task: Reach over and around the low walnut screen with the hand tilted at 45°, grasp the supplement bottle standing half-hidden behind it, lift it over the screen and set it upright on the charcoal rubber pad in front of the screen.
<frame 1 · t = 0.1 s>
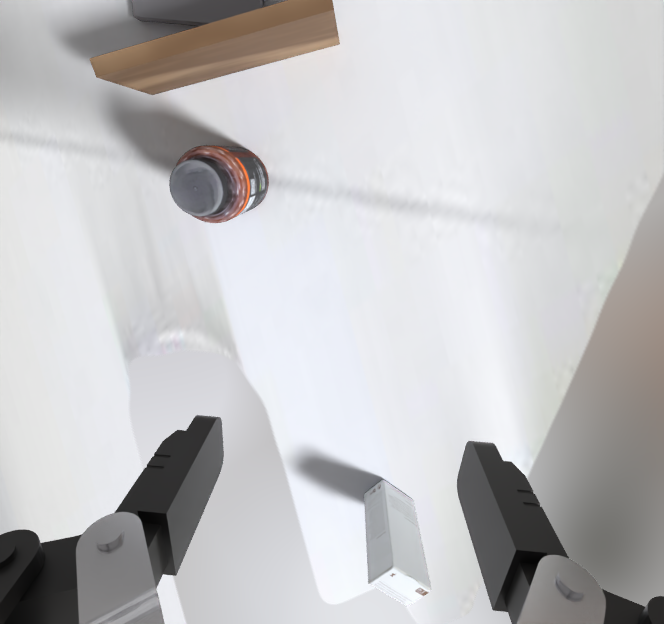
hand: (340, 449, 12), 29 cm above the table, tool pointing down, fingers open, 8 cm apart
grey upright block: (390, 495, 52), on the table
supplement bottle: (241, 179, 37), on the table
walnut screen: (240, 62, 33), on the table
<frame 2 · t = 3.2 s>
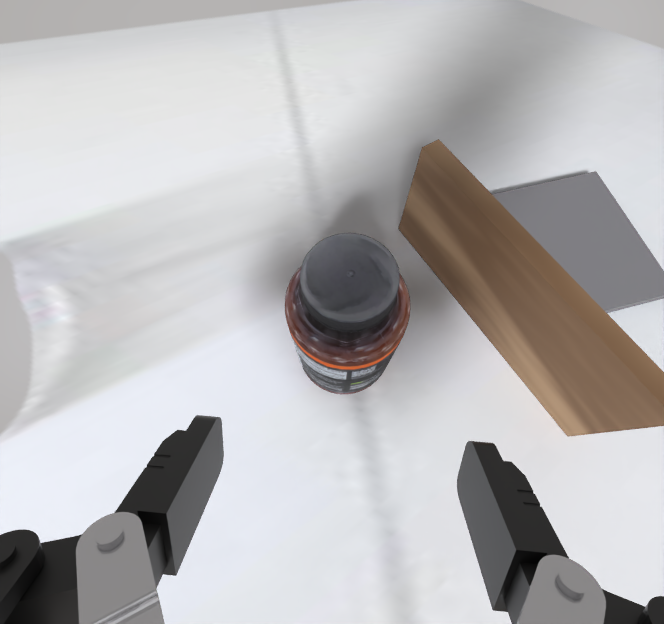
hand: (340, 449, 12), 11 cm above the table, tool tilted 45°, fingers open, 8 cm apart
supplement bottle: (342, 352, 25), on the table
charcoal pad: (559, 250, 28), on the table
walnut screen: (480, 316, 26), on the table
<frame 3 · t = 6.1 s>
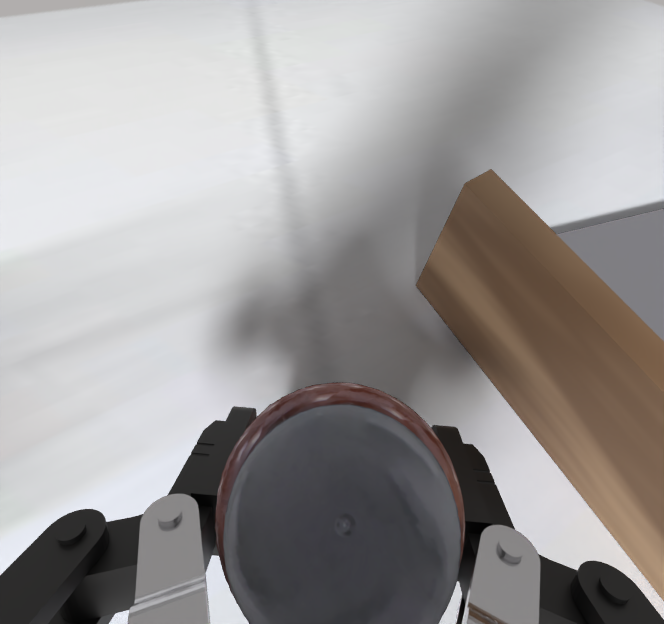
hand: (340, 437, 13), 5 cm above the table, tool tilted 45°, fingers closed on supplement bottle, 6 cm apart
supplement bottle: (336, 484, 17), on the table, touching gripper
charcoal pad: (647, 317, 20), on the table
walnut screen: (540, 424, 18), on the table
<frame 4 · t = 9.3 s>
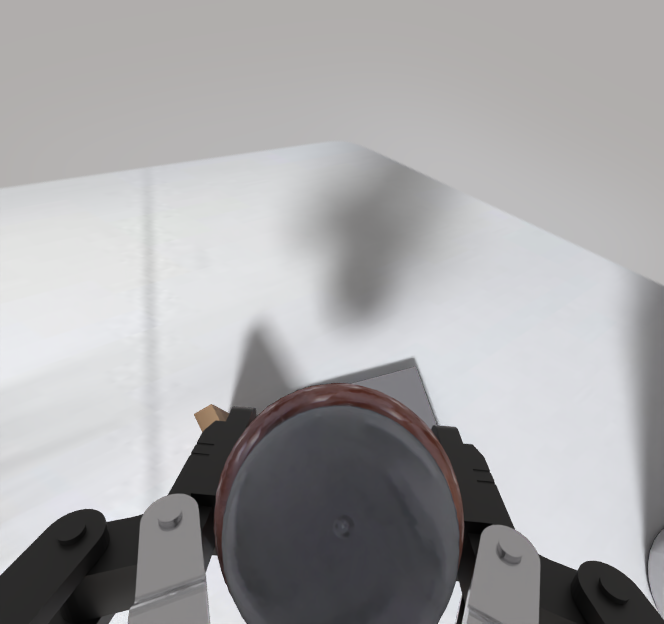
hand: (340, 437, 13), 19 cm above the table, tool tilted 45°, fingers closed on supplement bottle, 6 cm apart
supplement bottle: (335, 485, 17), point 14 cm above the table, touching gripper
charcoal pad: (372, 450, 30), on the table
walnut screen: (285, 527, 28), on the table
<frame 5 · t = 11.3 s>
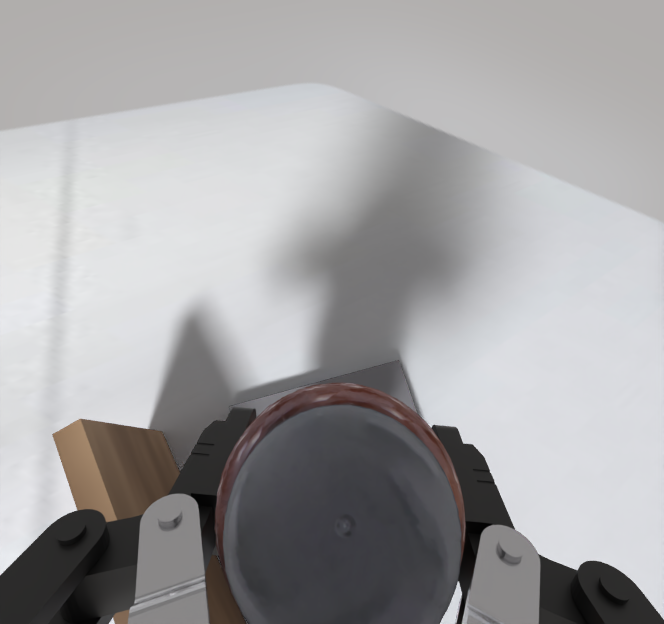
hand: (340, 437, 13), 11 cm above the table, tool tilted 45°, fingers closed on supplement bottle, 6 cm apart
supplement bottle: (336, 484, 17), point 6 cm above the table, touching gripper
charcoal pad: (339, 474, 22), on the table
walnut screen: (215, 583, 20), on the table
when the fingers open (7 cm above the table, at t = 13.0 s): supplement bottle drops 1 cm, resting on charcoal pad.
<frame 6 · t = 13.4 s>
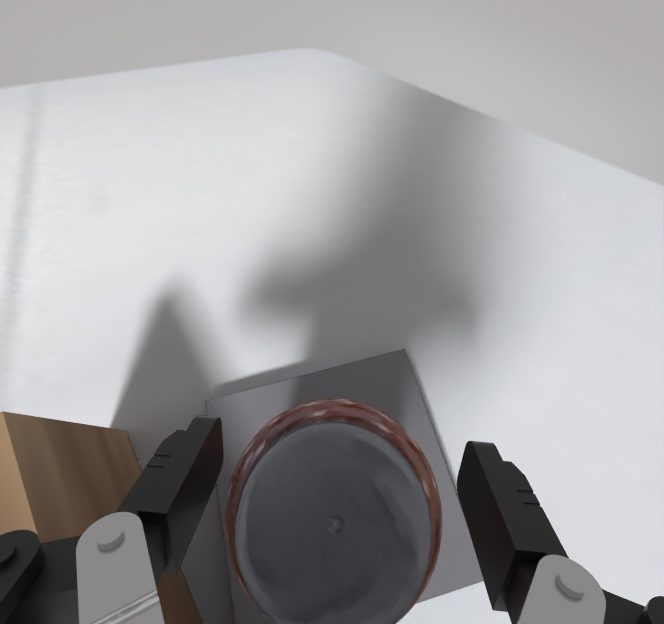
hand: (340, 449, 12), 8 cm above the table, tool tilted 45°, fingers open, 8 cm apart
supplement bottle: (332, 487, 18), point 1 cm above the table, touching charcoal pad
charcoal pad: (334, 482, 19), on the table
walnut screen: (183, 615, 17), on the table
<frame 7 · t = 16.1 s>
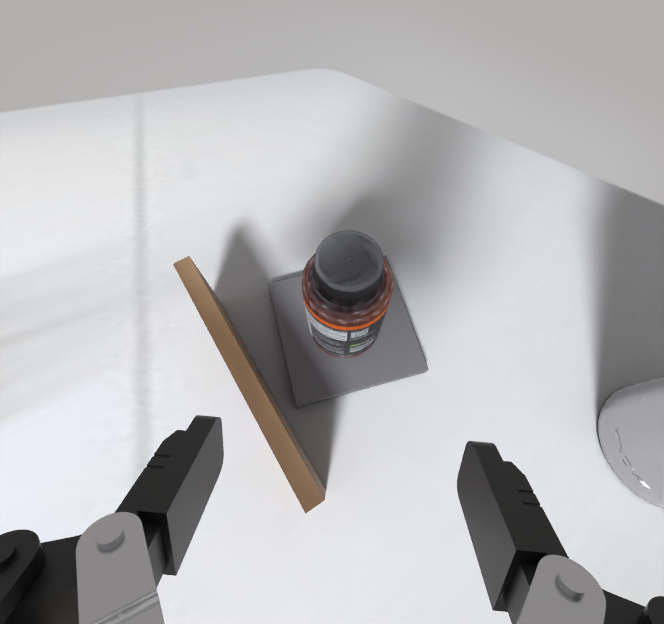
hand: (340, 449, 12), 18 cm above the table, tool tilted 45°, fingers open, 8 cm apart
supplement bottle: (343, 327, 32), point 1 cm above the table, touching charcoal pad
charcoal pad: (344, 328, 32), on the table
walnut screen: (261, 391, 30), on the table
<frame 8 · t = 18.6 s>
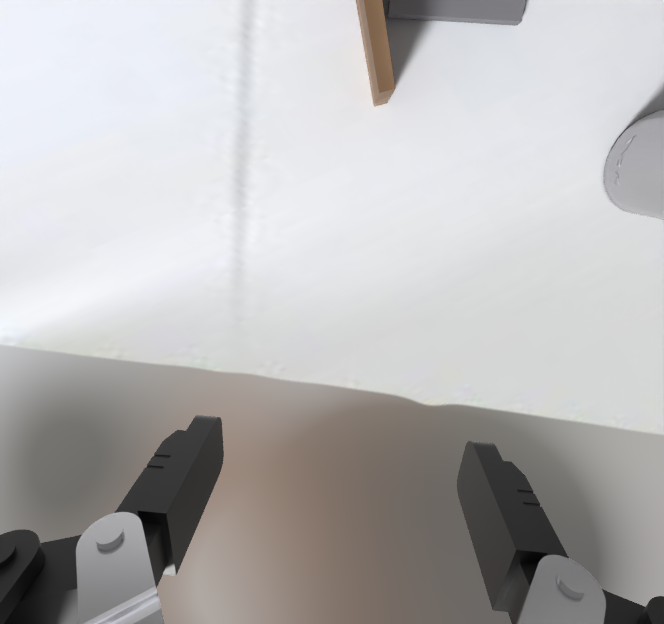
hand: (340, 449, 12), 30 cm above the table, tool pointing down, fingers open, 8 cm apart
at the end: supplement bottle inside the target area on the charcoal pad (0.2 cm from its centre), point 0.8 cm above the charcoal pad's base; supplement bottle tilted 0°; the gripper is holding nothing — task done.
